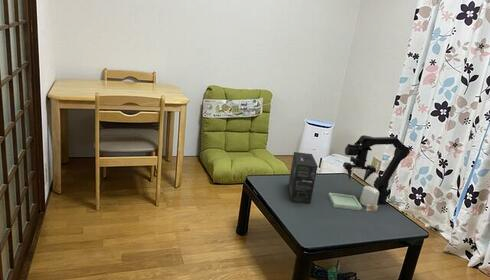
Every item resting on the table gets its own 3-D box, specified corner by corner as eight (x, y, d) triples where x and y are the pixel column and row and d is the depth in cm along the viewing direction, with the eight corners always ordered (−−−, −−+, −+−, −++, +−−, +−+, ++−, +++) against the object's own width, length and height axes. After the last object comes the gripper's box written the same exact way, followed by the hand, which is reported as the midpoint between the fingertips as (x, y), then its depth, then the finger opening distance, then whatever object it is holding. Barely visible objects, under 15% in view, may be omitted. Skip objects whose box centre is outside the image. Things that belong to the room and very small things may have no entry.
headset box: (311, 203, 221) (318, 162, 214) (290, 201, 221) (297, 159, 214) (305, 188, 243) (312, 150, 236) (287, 186, 243) (293, 148, 236)
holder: (368, 201, 235) (370, 196, 234) (376, 211, 221) (377, 206, 220) (359, 200, 235) (360, 195, 234) (366, 210, 221) (367, 205, 220)
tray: (353, 199, 236) (354, 195, 235) (361, 210, 220) (361, 206, 220) (328, 196, 235) (329, 192, 235) (334, 207, 220) (334, 203, 219)
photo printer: (358, 203, 231) (362, 184, 228) (362, 202, 233) (367, 183, 230) (372, 210, 223) (377, 191, 220) (377, 209, 226) (381, 190, 222)
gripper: (372, 154, 235) (367, 177, 239) (343, 150, 235) (338, 174, 239) (378, 159, 224) (373, 184, 229) (347, 156, 224) (342, 180, 228)
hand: (356, 180), depth 231 cm, fingers open, 9 cm apart
